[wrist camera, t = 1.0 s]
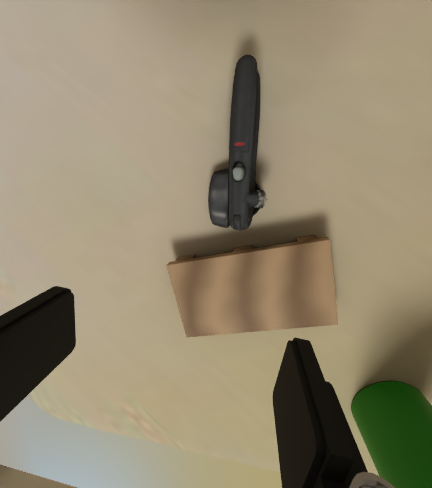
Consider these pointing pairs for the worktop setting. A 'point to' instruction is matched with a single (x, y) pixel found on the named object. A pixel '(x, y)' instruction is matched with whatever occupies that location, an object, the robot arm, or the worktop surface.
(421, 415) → the motor
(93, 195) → the worktop surface
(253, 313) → the stand
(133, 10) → the worktop surface
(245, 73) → the can opener
